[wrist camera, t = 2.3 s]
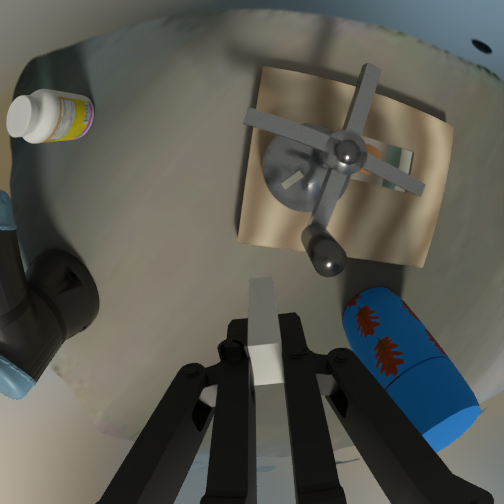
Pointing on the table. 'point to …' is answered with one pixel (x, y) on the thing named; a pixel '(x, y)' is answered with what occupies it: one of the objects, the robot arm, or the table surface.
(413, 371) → the thermos
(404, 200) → the stand base
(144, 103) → the table surface
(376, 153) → the ball
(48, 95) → the supplement bottle
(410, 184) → the grey cross
